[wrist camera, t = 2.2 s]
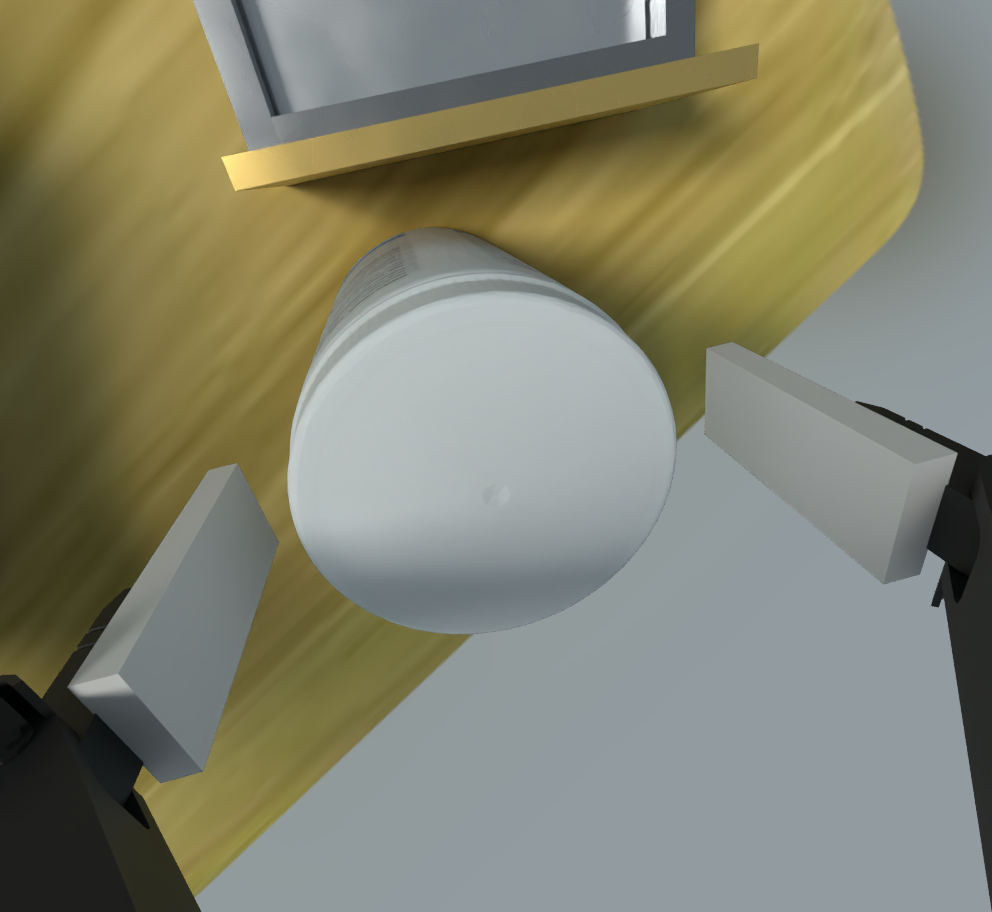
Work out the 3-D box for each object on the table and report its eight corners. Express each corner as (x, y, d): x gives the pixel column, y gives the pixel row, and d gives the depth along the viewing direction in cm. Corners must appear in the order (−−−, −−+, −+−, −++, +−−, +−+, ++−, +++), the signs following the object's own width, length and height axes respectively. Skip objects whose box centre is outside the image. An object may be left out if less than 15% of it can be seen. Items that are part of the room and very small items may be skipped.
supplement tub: (365, 439, 26) (343, 681, 14) (304, 245, 22) (184, 343, 9) (545, 400, 27) (680, 595, 15) (524, 205, 23) (696, 243, 10)
